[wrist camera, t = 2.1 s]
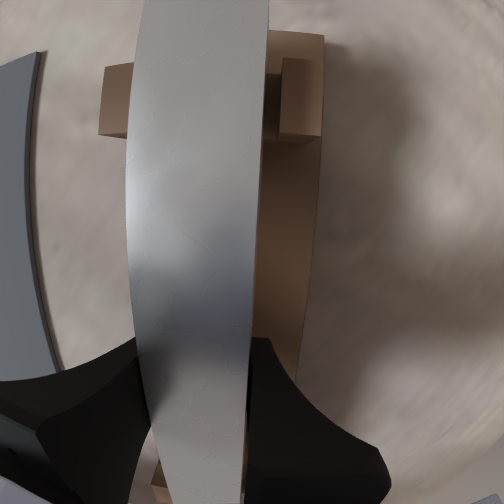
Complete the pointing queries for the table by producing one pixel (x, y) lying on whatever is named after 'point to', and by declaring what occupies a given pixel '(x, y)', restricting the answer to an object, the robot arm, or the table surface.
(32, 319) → the rubber mat
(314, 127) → the walnut standards
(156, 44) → the steel rail
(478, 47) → the table surface
